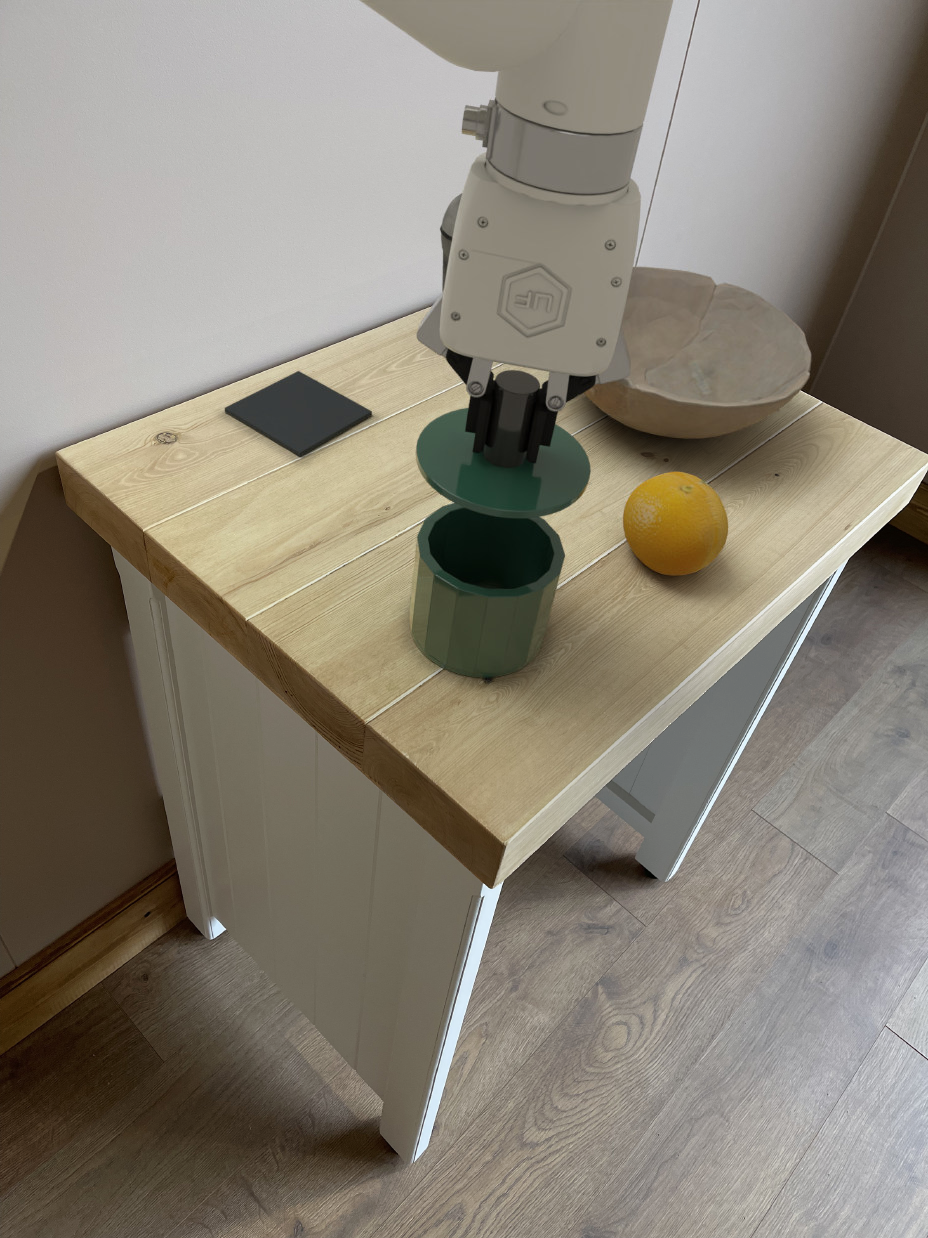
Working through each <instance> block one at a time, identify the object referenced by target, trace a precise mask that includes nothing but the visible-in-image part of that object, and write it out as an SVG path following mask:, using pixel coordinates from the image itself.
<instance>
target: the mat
mask: <svg viewBox="0 0 928 1238" xmlns="http://www.w3.org/2000/svg"><path fill="white" fill-rule="evenodd" d="M224 413H226V414H228V415H229V416H231V417H233V418H234V419H236V420H238V421H239V422H241V423H243V424H244V425H246V426H248V427H249V428H251V429H253V430H254V431H256V432H257V433H258V434H261V435H263V436H264V437H265V438H268V439H269V440H270V441H273V442H274V443H276V444H278V445H280V446H281V447H283V448H284V449H286V450H287V451H289V452H291V453H293V454H295V455H296V456H298V457H299V458H301V457H302V456H304V455H306V454H307V453H309V452H311V451H313V450H314V449H316V448H318V447H320V446H321V445H323V444H325V443H327V442H328V441H330V440H332V439H333V438H335V437H338V436H339V435H340V434H342V433H344V432H346V431H347V430H349V429H351V428H353V427H354V426H356V425H357V424H359V423H361V422H363V421H365V420H366V419H368V418H370V417H371V416H372V415H373V411H372V410H370V409H369V408H366V407H365V406H363V405H361V404H360V403H358V402H356V401H354V400H352V399H350V398H349V397H347V396H345V395H343V394H341V393H339V392H338V391H336V390H335V389H333V388H331V387H329V386H327V385H325V384H323V383H321V382H320V381H318V380H316V379H315V378H313V377H310V376H309V375H307V374H305V373H303V372H302V371H300V370H297V371H296V372H293V373H292V374H290V375H287V376H285V377H283V378H282V379H281V378H280V379H279V380H277V381H275V382H273V383H272V384H270V385H267V386H265V387H263V388H262V389H260V390H257V391H255V392H253V393H251V394H249V395H248V396H245V397H244V398H243V397H242V398H241V399H239V400H237V401H235V402H233V403H232V404H231V403H230V404H229V405H227V406H225V407H224Z"/></svg>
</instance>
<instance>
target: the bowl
mask: <svg viewBox="0 0 928 1238" xmlns="http://www.w3.org/2000/svg"><path fill="white" fill-rule="evenodd" d="M621 324H622V328H623V332H624V336H625V340H626V344H627V348H628V351H629V355H630V359H631V373H630V375H629V376H628V377H627V378H625V379H621V380H617V381H613V382H609V383H605V384H601V385H600V384H596V385H594V386H593V387H592V388H591V389H589V390H587V391H586V392H584V393H583V394H584V395H585V396H586V397H587V398H588V399H589V400H590V402H592V403H593V404H594V405H595V406H596V407H597V408H599V409H600V410H601V411H602V412H603V413H605V414H606V415H608V416H609V417H610V418H611V419H613V420H615V421H617V422H619V423H621V424H623V425H624V426H626V427H628V428H630V429H634V430H636V431H639V432H642V433H645V434H651V435H654V436H660V437H666V438H674V439H709V438H715V437H720V436H725V435H728V434H731V433H734V432H737V431H740V430H743V429H746V428H748V427H751V426H753V425H755V424H757V423H759V422H761V421H763V420H764V419H767V418H768V417H769V416H771V415H772V414H774V413H775V412H778V411H779V410H780V409H781V408H782V407H784V406H785V405H786V404H787V403H789V402H791V400H793V398H794V397H796V396H797V395H798V394H799V393H800V392H801V390H802V389H803V388H804V386H805V385H806V384H807V382H808V380H809V379H810V377H811V376H810V375H811V373H810V372H811V365H812V352H811V350H810V346H809V345H808V341H807V338H806V334H805V333H804V331H803V330H802V328H801V327H800V326H799V325H798V324H797V323H796V322H795V321H793V320H792V319H791V318H790V317H789V316H788V315H787V314H786V313H785V312H784V311H783V310H781V309H779V308H778V307H777V306H775V305H773V303H771V302H769V301H767V300H766V299H765V298H763V297H762V296H761V295H759V294H757V293H755V292H753V291H751V290H749V289H746V288H745V287H744V288H743V287H742V286H738V285H736V284H735V285H734V284H731V283H727V282H722V283H719V284H717V283H716V282H715V281H714V279H713V277H711V276H709V275H704V274H701V273H698V272H697V273H696V272H693V271H689V270H682V269H680V270H679V269H674V268H673V269H672V268H663V267H653V266H652V267H651V266H633V269H632V274H631V279H630V285H629V290H628V295H627V299H626V304H625V309H624V313H623V318H622V322H621ZM600 343H601V342H600Z"/></svg>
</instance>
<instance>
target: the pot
mask: <svg viewBox="0 0 928 1238" xmlns="http://www.w3.org/2000/svg"><path fill="white" fill-rule="evenodd" d="M415 542H416V543H415V552H414V560H413V561H414V562H413V571H412V581H411V582H412V583H411V591H410V601H409V609H408V617H409V630H410V631H409V632H410V635H411V637H412V639H413V641H414V643H415V645H416V647H417V648H418V649H419V651H420V652H421V653H422V654H423V655H425V657H426V658H427V659H429V660H430V661H431V662H432V663H434V664H435V665H437V666H439V667H441V668H443V669H444V670H446V671H449V672H451V673H453V674H457V675H461V676H465V677H471V678H479V679H481V678H482V679H483V678H485V679H486V678H489V679H490V678H497V677H504V676H506V675H511V674H513V673H516V672H518V671H520V670H522V669H523V668H525V667H526V666H528V665H529V664H530V663H532V661H533V660H534V659H535V658H536V657H537V656H538V654H539V652H540V651H541V649H542V646H543V642H544V638H545V635H546V631H547V628H548V624H549V621H550V616H551V612H552V609H553V605H554V601H555V597H556V593H557V589H558V586H559V581H560V577H561V574H562V569H563V566H564V562H565V558H566V552H565V550H564V546H563V544H562V540H561V537H560V535H559V534H558V532H557V531H556V530H555V529H554V528H553V527H552V526H551V525H550V524H549V523H548V522H547V520H546V519H544V518H543V517H542V516H541V517H534V518H504V517H496V516H491V515H486V514H482V513H479V512H475V511H472V510H469V509H467V508H464V507H462V506H459V505H457V504H456V503H454V502H451V503H449V504H445V505H442V506H441V507H439V508H438V509H436V510H435V511H434V512H432V513H431V514H430V515H428V516H427V517H425V519H424V521H423V522H422V524H421V527H420V529H419V531H418V532H417V535H416V541H415Z"/></svg>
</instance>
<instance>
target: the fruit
mask: <svg viewBox="0 0 928 1238" xmlns="http://www.w3.org/2000/svg"><path fill="white" fill-rule="evenodd" d="M622 513H623V514H622V528H623V534H624V536H625V539H626V542H627V544H628V546H629V548H630V550H631V551H632V552H633V554H634V556H636V558H637V559H639V561H640V562H641V563H643V564H644V565H645V566H646V567H648V568H649V569H650V570H652V571H654V572H656V573H658V574H661V575H665V576H686V575H690V574H693V573H696V572H698V571H700V570H703V569H705V568H706V567H707V566H709V564H711V563H712V562H713V561H714V560H715V559H716V558H717V557H718V556H719V555H720V553H721V552H722V551H723V549H724V547H725V545H726V543H727V539H728V534H729V519H728V514H727V511H726V508H725V506H724V503H723V501H722V499H721V498H720V496H719V494H718V493H717V492H716V491H715V489H714V488H712V486H710V485H709V484H708V483H707V482H706V481H704V480H703V479H701V477H700V478H699V477H698V476H695V475H694V474H690V473H687V472H683V471H668V472H664V473H661V474H658V475H655V476H653V477H650V478H649V479H647V480H645V481H643V482H642V483H641V484H639V485H637V487H635V489H634V490H632V492H631V493H630V495H629V496H628V498H627V500H626V502H625V505H624V508H623V512H622Z"/></svg>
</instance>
